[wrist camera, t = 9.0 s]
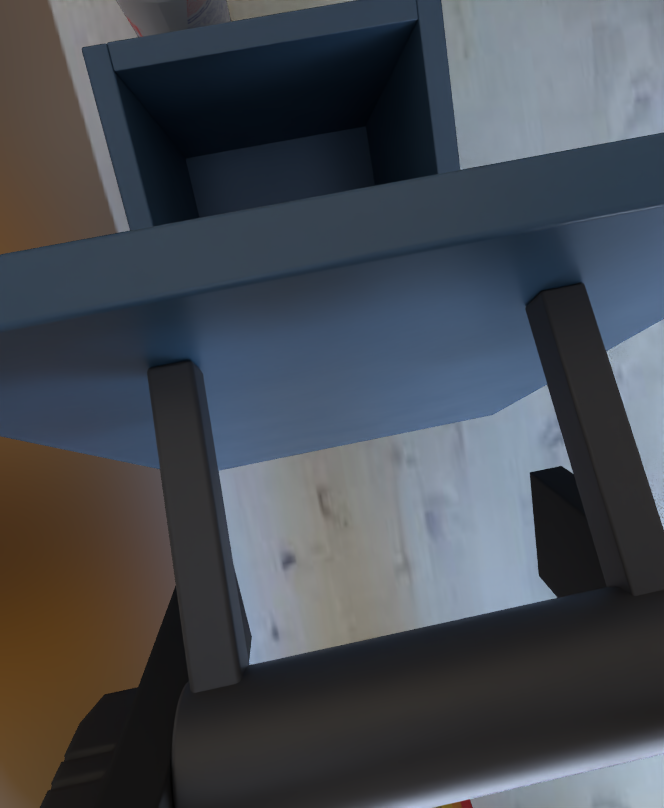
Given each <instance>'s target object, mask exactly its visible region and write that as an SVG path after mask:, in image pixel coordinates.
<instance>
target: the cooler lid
mask: <svg viewBox="0 0 664 808" xmlns="http://www.w3.org/2000/svg"><path fill="white" fill-rule="evenodd" d="M662 319H664V133H659V134H653V135H648V136H642V137H637V138H632V139H626V140H621V141H615V142H610V143H604V144H599V145H594V146H588V147H583V148H577V149H572V150H566V151H561V152H555V153H550V154H545V155H539V156H534V157H528V158H523V159H517V160H512V161H506V162H501V163H496V164H490V165H485V166H479V167H474V168H468V169H463V170H458V171H452V172H447V173H441V174H436V175H430V176H425V177H419V178H414V179H409V180H403V181H398V182H392V183H387V184H381V185H376V186H371V187H365V188H360V189H354V190H349V191H343V192H338V193H332V194H327V195H322V196H316V197H311V198H305V199H300V200H294V201H289V202H283V203H278V204H273V205H267V206H262V207H256V208H251V209H245V210H240V211H235V212H229V213H224V214H218V215H213V216H207V217H202V218H196V219H191V220H186V221H180V222H175V223H169V224H164V225H158V226H153V227H147V228H142V229H137V230H131V231H126V232H120V233H115V234H110V235H104V236H99V237H94V238H88V239H82V240H77V241H71V242H66V243H61V244H55V245H50V246H44V247H39V248H33V249H28V250H23V251H17V252H12V253H6V254H1V255H0V436H1V437H7V438H11V439H16V440H21V441H26V442H31V443H36V444H40V445H45V446H50V447H55V448H60V449H64V450H69V451H75V452H79V453H84V454H89V455H94V456H99V457H103V458H108V459H113V460H118V461H123V462H128V463H132V464H137V465H143V466H147V467H152V468H157V469H160V472H161V480H162V487H163V494H164V502H165V509H166V516H167V523H168V531H169V538H170V546H171V553H172V560H173V567H174V575H175V582H176V589H177V597H178V604H179V611H180V619H181V626H182V633H183V641H184V648H185V655H186V663H187V670H188V677H189V681H188V682H187V683H186V685H185V686H184V688H183V690H182V692H181V695H180V698H179V701H178V705H177V709H176V715H175V720H174V728H173V737H172V756H171V770H172V791H173V800H174V808H434V807H438V806H443V805H447V804H451V803H455V802H460V801H464V800H468V799H473V798H477V797H481V796H485V795H490V794H494V793H498V792H503V791H507V790H511V789H516V788H520V787H524V786H528V785H533V784H537V783H541V782H546V781H550V780H554V779H558V778H563V777H567V776H571V775H576V774H580V773H584V772H589V771H593V770H597V769H601V768H606V767H610V766H614V765H619V764H623V763H627V762H631V761H636V760H640V759H644V758H649V757H653V756H657V755H662V754H664V530H663V526H662V523H661V520H660V517H659V514H658V511H657V508H656V505H655V502H654V499H653V495H652V492H651V489H650V486H649V483H648V480H647V477H646V474H645V471H644V467H643V464H642V461H641V458H640V455H639V452H638V449H637V446H636V443H635V439H634V436H633V433H632V430H631V427H630V424H629V421H628V418H627V415H626V412H625V408H624V405H623V402H622V399H621V396H620V393H619V390H618V387H617V384H616V380H615V377H614V374H613V371H612V368H611V365H610V362H609V359H608V356H607V353H606V351H607V350H609V349H611V348H613V347H614V346H616V345H618V344H620V343H621V342H623V341H625V340H627V339H629V338H630V337H632V336H634V335H636V334H637V333H639V332H641V331H643V330H645V329H646V328H648V327H650V326H652V325H654V324H655V323H657V322H659V321H661V320H662ZM545 385H548V388H549V392H550V395H551V399H552V402H553V405H554V409H555V412H556V416H557V419H558V422H559V426H560V429H561V432H562V436H563V439H564V443H565V446H566V449H567V453H568V456H569V460H570V463H571V466H572V470H573V473H574V477H575V480H576V483H577V487H578V490H579V494H580V497H581V500H582V504H583V507H584V511H585V514H586V517H587V521H588V524H589V528H590V531H591V534H592V538H593V541H594V545H595V548H596V551H597V555H598V558H599V562H600V565H601V568H602V572H603V575H604V579H605V582H606V585H607V587H605V588H601V589H596V590H592V591H587V592H583V593H578V594H573V595H569V596H564V597H560V598H555V599H551V600H546V601H541V602H537V603H532V604H528V605H523V606H519V607H514V608H509V609H505V610H500V611H496V612H491V613H487V614H482V615H477V616H473V617H468V618H464V619H459V620H455V621H450V622H445V623H441V624H436V625H432V626H427V627H423V628H418V629H413V630H409V631H404V632H400V633H395V634H391V635H386V636H381V637H377V638H372V639H368V640H363V641H359V642H354V643H349V644H345V645H340V646H336V647H331V648H327V649H322V650H317V651H313V652H308V653H304V654H299V655H294V656H290V657H285V658H281V659H276V660H272V661H267V662H262V663H258V664H253V665H249V660H248V654H247V648H246V641H245V635H244V629H243V622H242V616H241V610H240V603H239V597H238V591H237V585H236V578H235V572H234V566H233V559H232V553H231V547H230V541H229V534H228V528H227V522H226V515H225V509H224V503H223V497H222V490H221V484H220V478H219V470H224V469H229V468H234V467H239V466H244V465H248V464H253V463H258V462H263V461H268V460H273V459H278V458H283V457H288V456H293V455H298V454H303V453H307V452H312V451H317V450H322V449H327V448H332V447H337V446H342V445H347V444H352V443H357V442H362V441H366V440H371V439H376V438H381V437H386V436H391V435H396V434H401V433H406V432H411V431H416V430H421V429H425V428H430V427H435V426H440V425H445V424H450V423H455V422H460V421H465V420H470V419H475V418H480V417H484V416H489V415H493V414H495V413H497V412H498V411H500V410H502V409H504V408H506V407H507V406H509V405H511V404H513V403H515V402H516V401H518V400H520V399H522V398H523V397H525V396H527V395H529V394H531V393H532V392H534V391H536V390H538V389H539V388H541V387H543V386H545Z"/></svg>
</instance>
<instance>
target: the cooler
mask: <svg viewBox="0 0 664 808" xmlns="http://www.w3.org/2000/svg"><path fill="white" fill-rule="evenodd" d="M82 53H83V56H84V60H85V64H86V68H87V71H88V75H89V79H90V83H91V86H92V90H93V94H94V97H95V101H96V105H97V109H98V112H99V116H100V120H101V124H102V127H103V131H104V135H105V139H106V142H107V146H108V150H109V153H110V157H111V161H112V165H113V168H114V172H115V176H116V180H117V183H118V187H119V191H120V194H121V198H122V202H123V206H124V209H125V213H126V217H127V221H128V224H129V228H130V231H131V230H137V229H142V228H147V227H153V226H158V225H164V224H169V223H175V222H180V221H186V220H191V219H196V218H202V217H207V216H213V215H218V214H224V213H229V212H235V211H240V210H245V209H251V208H256V207H262V206H267V205H273V204H278V203H283V202H289V201H294V200H300V199H305V198H311V197H316V196H322V195H327V194H332V193H338V192H343V191H349V190H354V189H360V188H365V187H371V186H376V185H381V184H387V183H392V182H398V181H403V180H409V179H414V178H419V177H425V176H430V175H436V174H441V173H447V172H452V171H458V170H460V164H459V155H458V146H457V137H456V128H455V119H454V110H453V102H452V93H451V84H450V75H449V66H448V57H447V48H446V39H445V30H444V22H443V13H442V4H441V0H356V1H350V2H344V3H338V4H332V5H327V6H321V7H315V8H309V9H303V10H297V11H291V12H285V13H279V14H273V15H268V16H262V17H256V18H250V19H244V20H238V21H232V22H226V23H220V24H214V25H208V26H203V27H197V28H191V29H185V30H179V31H173V32H167V33H161V34H155V35H149V36H143V37H138V38H132V39H126V40H120V41H114V42H108V43H107V44H100V45H94V46H88V47H83V48H82Z"/></svg>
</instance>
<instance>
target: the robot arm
mask: <svg viewBox="0 0 664 808" xmlns="http://www.w3.org/2000/svg"><path fill="white" fill-rule="evenodd" d="M530 480H531V491H532V503H533V514H534V525H535V537H536V548H537V559H538V571H539V576H540V578H541V579H542V580H543V581H544V582H545V583H546V585H547V586H548V587H549V588H550V589H551V590H552V592H553V593H554V594H555V595H556V596H557V597H558V598H560V597H564V596H569V595H573V594H578V593H583V592H587V591H592V590H596V589H601V588H605V587H607V585H606V582H605V579H604V575H603V572H602V568H601V565H600V562H599V558H598V555H597V551H596V548H595V545H594V541H593V538H592V534H591V531H590V528H589V524H588V521H587V517H586V514H585V511H584V507H583V504H582V500H581V497H580V494H579V490H578V487H577V483H576V480H575V477H574V474H573V473H571V472H570V471H568V470H567V469H565V468H564V467H562V466H559V467H555V468H550V469H545V470H540V471H535V472H530ZM233 566H234V565H233ZM234 572H235V569H234ZM235 578H236V585H237V591H238V597H239V603H240V610H241V616H242V622H243V629H244V635H245V641H246V648H247V654H248V660H249V658H250V648H251V638H252V636H251V632H250V628H249V624H248V620H247V617H246V613H245V609H244V605H243V601H242V597H241V593H240V589H239V585H238V581H237V577H236V573H235ZM188 681H189V677H188V670H187V663H186V655H185V648H184V641H183V633H182V626H181V619H180V611H179V604H178V597H177V589H176V586H175V589H174V592H173V595H172V598H171V600H170V603H169V605H168V608H167V611H166V614H165V616H164V619H163V622H162V625H161V627H160V630H159V632H158V635H157V638H156V641H155V643H154V646H153V649H152V651H151V654H150V657H149V659H148V662H147V665H146V668H145V670H144V673H143V676H142V678H141V681H140V684H139V687H137V688H133V689H128V690H123V691H119V692H114V693H110V694H105V695H104V696H103V697H102V698H101V699H100V700H99V702H98V703H97V704H96V705H95V706H94V707H93V709H92V710H91V711H90V712H89V713H88V714H87V715H86V717H85V718H84V719H83V720H82V721H81V722H80V724H79V726H78V728H77V730H76V733H75V734H74V736H73V738H72V741H71V743H70V745H69V747H68V749H67V751H66V753H65V760H64V762H61V764H60V766H59V768H58V770H57V772H56V774H55V777H54V779H53V781H52V783H51V784H52V787H51V790H49V791H48V792H47V794H46V796H45V798H44V800H43V802H42V804H41V806H40V808H174V800H173V791H172V770H171V756H172V737H173V728H174V720H175V715H176V709H177V705H178V701H179V698H180V695H181V692H182V690H183V688H184V686H185V685H186V683H187V682H188Z"/></svg>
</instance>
